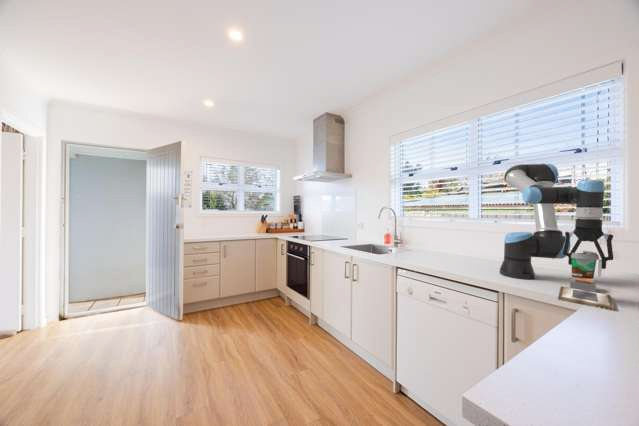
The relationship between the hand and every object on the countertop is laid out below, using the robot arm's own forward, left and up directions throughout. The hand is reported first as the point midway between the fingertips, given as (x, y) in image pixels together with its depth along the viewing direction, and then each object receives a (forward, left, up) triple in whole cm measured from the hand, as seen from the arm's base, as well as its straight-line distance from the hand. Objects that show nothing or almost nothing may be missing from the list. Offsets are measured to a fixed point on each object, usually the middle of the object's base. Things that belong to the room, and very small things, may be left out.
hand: (585, 274), depth 105 cm
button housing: (-1, +18, -10) cm, 21 cm away
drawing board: (0, 0, -10) cm, 10 cm away
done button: (-1, +18, -8) cm, 20 cm away
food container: (0, 0, -1) cm, 1 cm away
